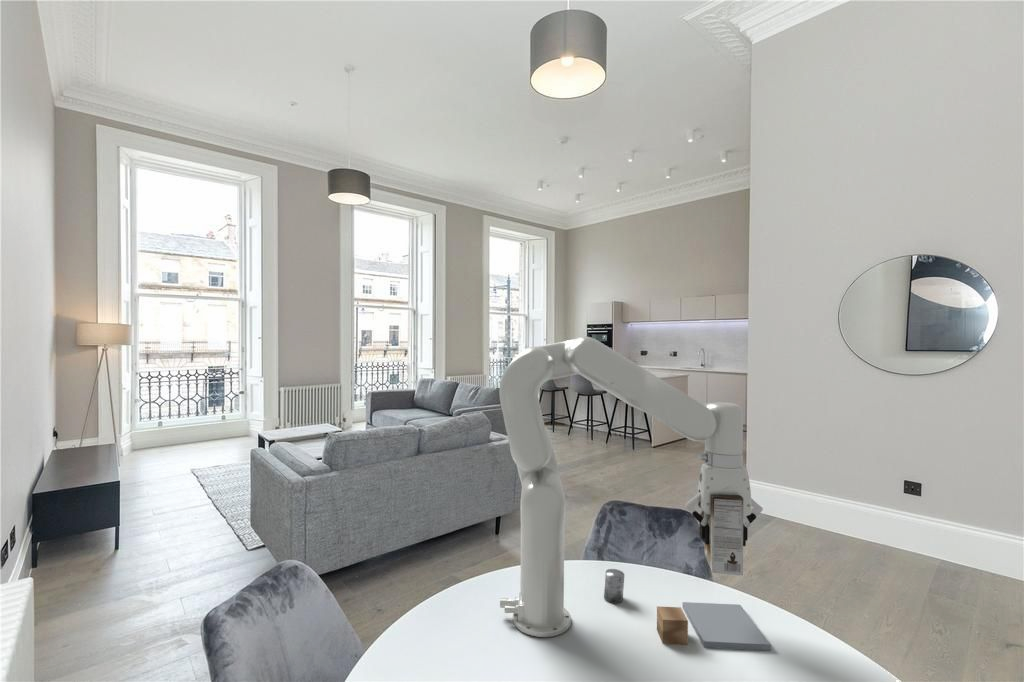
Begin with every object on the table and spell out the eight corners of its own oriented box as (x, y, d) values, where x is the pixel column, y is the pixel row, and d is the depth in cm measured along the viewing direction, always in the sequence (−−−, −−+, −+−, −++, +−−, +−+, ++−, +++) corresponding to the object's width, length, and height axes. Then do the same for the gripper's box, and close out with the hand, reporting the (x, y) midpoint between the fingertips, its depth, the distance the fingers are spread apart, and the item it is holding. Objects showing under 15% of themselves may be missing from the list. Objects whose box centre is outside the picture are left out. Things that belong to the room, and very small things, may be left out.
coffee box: (703, 554, 109) (703, 483, 110) (733, 557, 108) (733, 485, 108) (711, 573, 100) (712, 495, 101) (744, 576, 99) (745, 498, 99)
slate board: (703, 647, 97) (703, 641, 97) (682, 607, 112) (682, 602, 112) (770, 650, 96) (770, 644, 96) (740, 609, 111) (740, 604, 111)
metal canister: (608, 603, 113) (609, 577, 113) (601, 593, 117) (602, 569, 117) (625, 602, 114) (627, 577, 114) (618, 593, 118) (619, 568, 118)
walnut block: (662, 644, 98) (662, 619, 98) (656, 629, 103) (656, 606, 103) (687, 645, 98) (687, 620, 98) (680, 631, 103) (680, 607, 103)
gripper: (687, 463, 101) (687, 548, 101) (773, 465, 100) (772, 551, 100) (677, 455, 109) (677, 534, 109) (757, 457, 108) (757, 537, 107)
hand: (723, 542), depth 104 cm, fingers closed on coffee box, 6 cm apart
